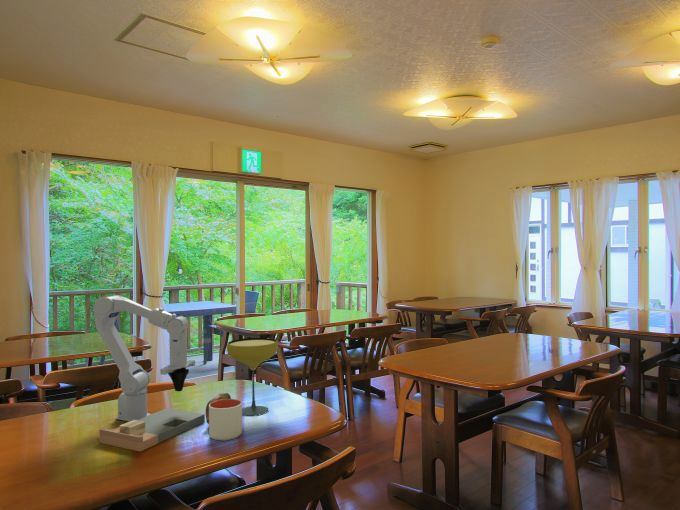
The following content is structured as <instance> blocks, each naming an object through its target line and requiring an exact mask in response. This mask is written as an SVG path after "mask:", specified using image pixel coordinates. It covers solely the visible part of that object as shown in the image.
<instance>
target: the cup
mask: <svg viewBox="0 0 680 510" xmlns="http://www.w3.org/2000/svg"><path fill="white" fill-rule="evenodd" d="M242 408H243V402H242V401H241V400H239V399H234V398H231V399H223V400H217V401H214V402H212V403H210V404H209V424H208V433H209V437H210V438H211V439H213V440H216V441H221V442H222V441H230V440H234V439H236V438H238V437H240V436H241V434H242V433H243V415H242Z"/></svg>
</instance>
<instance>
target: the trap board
mask: <svg viewBox="0 0 680 510" xmlns="http://www.w3.org/2000/svg"><path fill="white" fill-rule="evenodd" d="M150 414H151V415H148V416H146V417H143V418H140V419H138V420H139V421H144V422H145V432H143V433H141V434H138V435H133V434H128V433H123V432H120V426H118V427H115V428H112V429H108V428H99V443H100V442H101V443H100V444H104V445H108V446H114V447H118V448H122V449H126V450H127V449H128V450H131V451H136V452H143V451H144V450H147V449H149V448H151V447H153V446H155V445H158V444H160V443H162V442H164V441H166V440H169V439H170V438H172V437H174V436H177V435H179V434H182V433H183V432H185V431H187V430H189V429H192V428H194V427H196V426H198V425H201V424H202V423H204V422H206V413H200V412H193V411H187V410H181V409H176V408H175V409H174V408H170V407H168V408H167V407H166V408H164V409H161V410H159V411H156V412H154V413H150Z"/></svg>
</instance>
